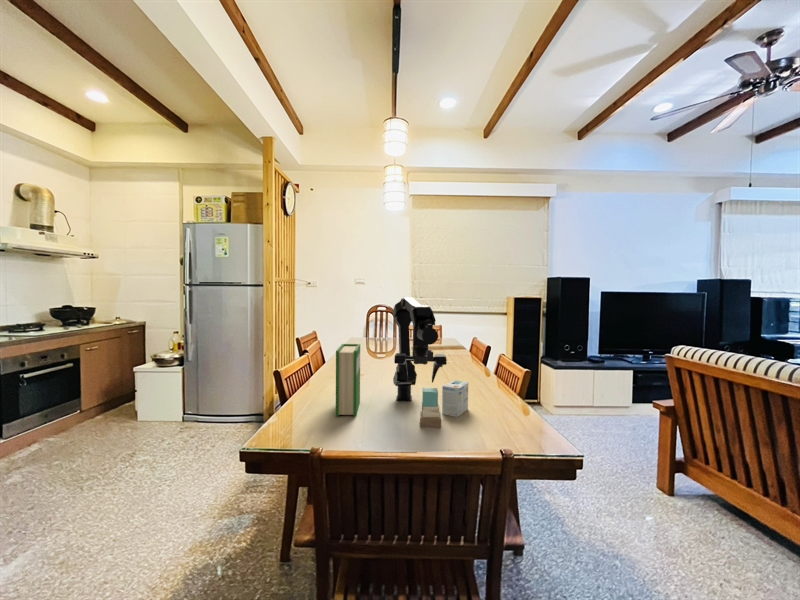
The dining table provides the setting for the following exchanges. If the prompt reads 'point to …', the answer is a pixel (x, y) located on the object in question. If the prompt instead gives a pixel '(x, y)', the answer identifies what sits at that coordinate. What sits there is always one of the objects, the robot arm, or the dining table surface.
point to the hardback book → (347, 379)
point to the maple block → (430, 411)
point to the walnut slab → (430, 421)
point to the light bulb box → (455, 398)
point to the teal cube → (430, 397)
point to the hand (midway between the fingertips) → (419, 382)
